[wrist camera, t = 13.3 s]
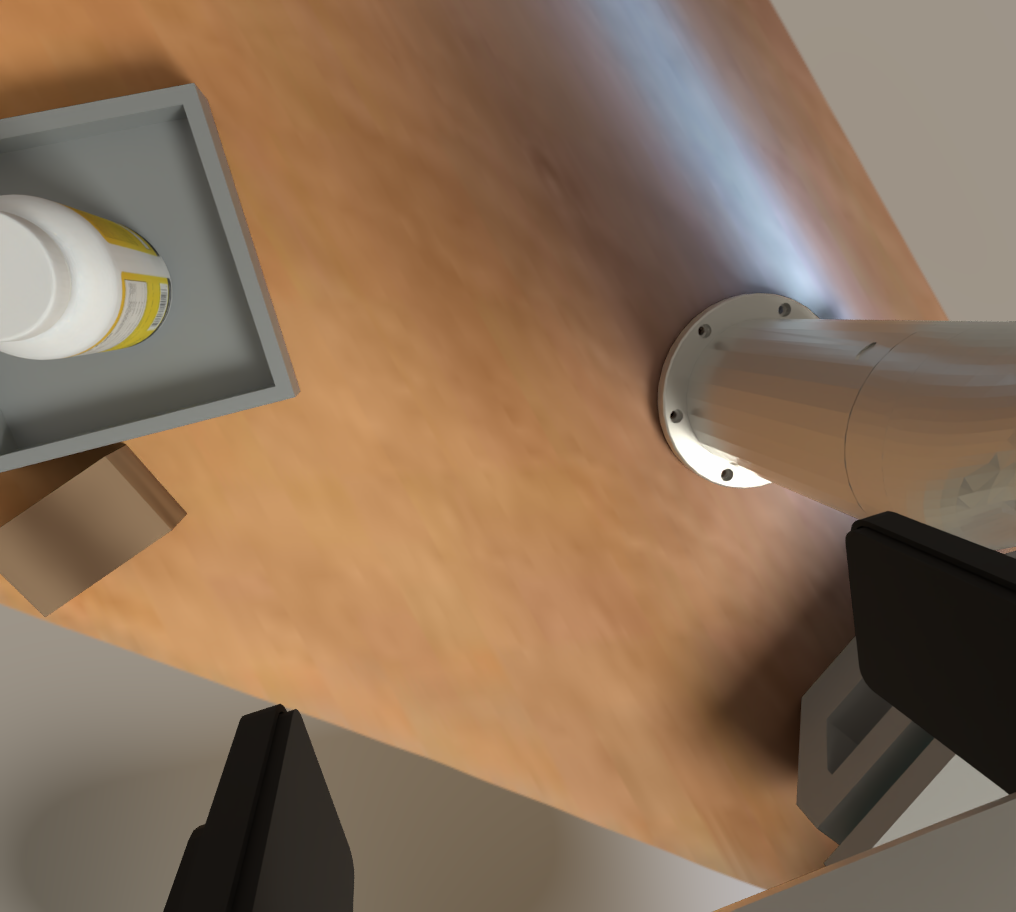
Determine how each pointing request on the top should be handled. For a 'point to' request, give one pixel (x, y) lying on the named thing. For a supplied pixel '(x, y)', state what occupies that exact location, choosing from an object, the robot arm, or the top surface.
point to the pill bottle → (75, 282)
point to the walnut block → (85, 530)
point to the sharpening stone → (875, 765)
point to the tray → (188, 257)
